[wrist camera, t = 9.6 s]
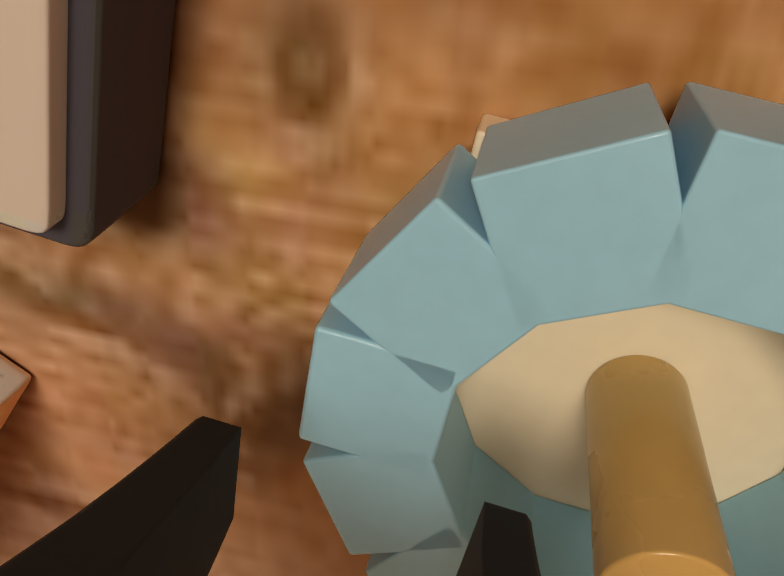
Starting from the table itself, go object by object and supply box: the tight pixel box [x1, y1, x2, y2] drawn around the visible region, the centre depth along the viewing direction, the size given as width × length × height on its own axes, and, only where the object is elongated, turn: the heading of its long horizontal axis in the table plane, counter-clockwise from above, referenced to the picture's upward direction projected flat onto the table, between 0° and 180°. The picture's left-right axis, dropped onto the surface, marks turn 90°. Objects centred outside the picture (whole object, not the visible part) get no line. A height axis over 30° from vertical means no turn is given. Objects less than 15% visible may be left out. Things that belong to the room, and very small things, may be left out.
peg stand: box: [456, 114, 784, 576], centre depth 12 cm, size 9×9×6 cm
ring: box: [299, 82, 784, 576], centre depth 13 cm, size 12×12×3 cm
